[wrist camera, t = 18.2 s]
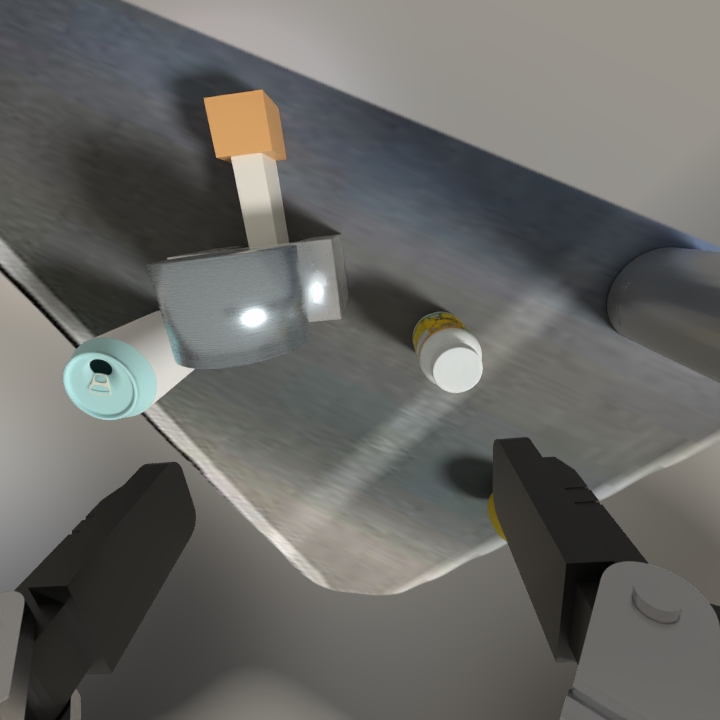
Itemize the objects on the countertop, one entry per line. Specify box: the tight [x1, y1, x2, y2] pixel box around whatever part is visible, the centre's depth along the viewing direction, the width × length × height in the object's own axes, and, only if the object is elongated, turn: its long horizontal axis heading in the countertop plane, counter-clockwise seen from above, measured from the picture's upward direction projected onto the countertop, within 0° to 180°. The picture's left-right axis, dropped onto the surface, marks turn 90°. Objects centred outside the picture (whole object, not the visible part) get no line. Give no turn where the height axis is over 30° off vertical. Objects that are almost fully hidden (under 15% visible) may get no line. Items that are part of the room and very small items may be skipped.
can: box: [63, 311, 194, 420], centre depth 35 cm, size 7×7×12 cm
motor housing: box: [147, 234, 349, 369], centre depth 29 cm, size 12×6×18 cm, turn 96°
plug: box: [204, 90, 289, 247], centre depth 34 cm, size 4×20×5 cm, turn 6°
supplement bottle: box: [413, 312, 483, 393], centre depth 35 cm, size 5×5×10 cm
